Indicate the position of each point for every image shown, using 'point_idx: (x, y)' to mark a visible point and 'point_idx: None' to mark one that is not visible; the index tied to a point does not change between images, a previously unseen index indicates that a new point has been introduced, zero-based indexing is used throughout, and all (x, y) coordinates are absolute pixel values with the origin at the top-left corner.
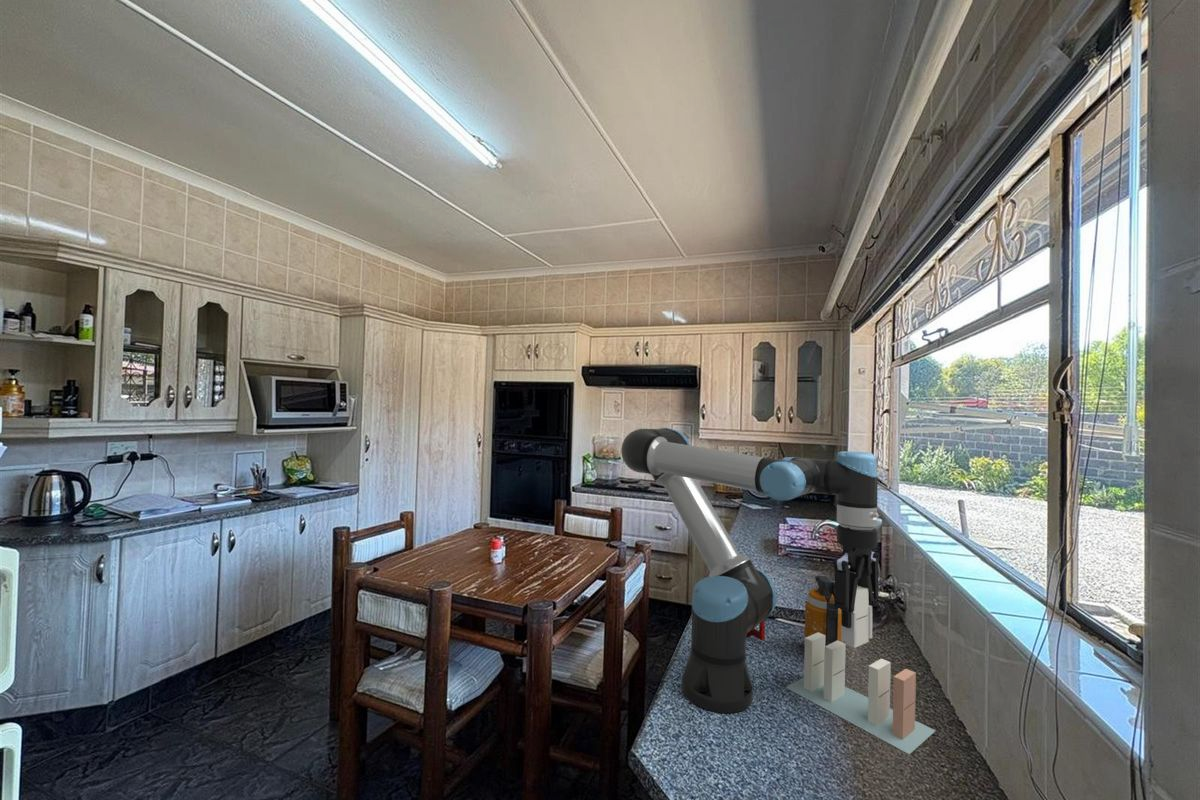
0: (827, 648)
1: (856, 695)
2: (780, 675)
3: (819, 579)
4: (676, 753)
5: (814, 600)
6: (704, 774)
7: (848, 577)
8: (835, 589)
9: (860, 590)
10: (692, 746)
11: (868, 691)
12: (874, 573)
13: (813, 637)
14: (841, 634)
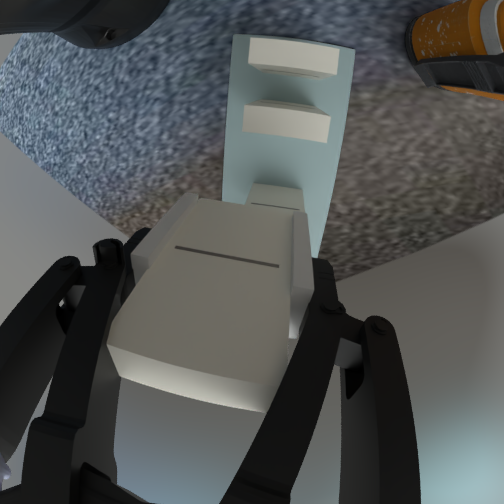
0: (244, 114)
1: (329, 141)
2: (277, 5)
3: None
4: (11, 88)
5: (492, 13)
6: (14, 123)
7: (18, 424)
8: (12, 318)
9: (181, 394)
10: (24, 84)
11: (245, 204)
12: (343, 491)
13: (282, 52)
14: (179, 199)
